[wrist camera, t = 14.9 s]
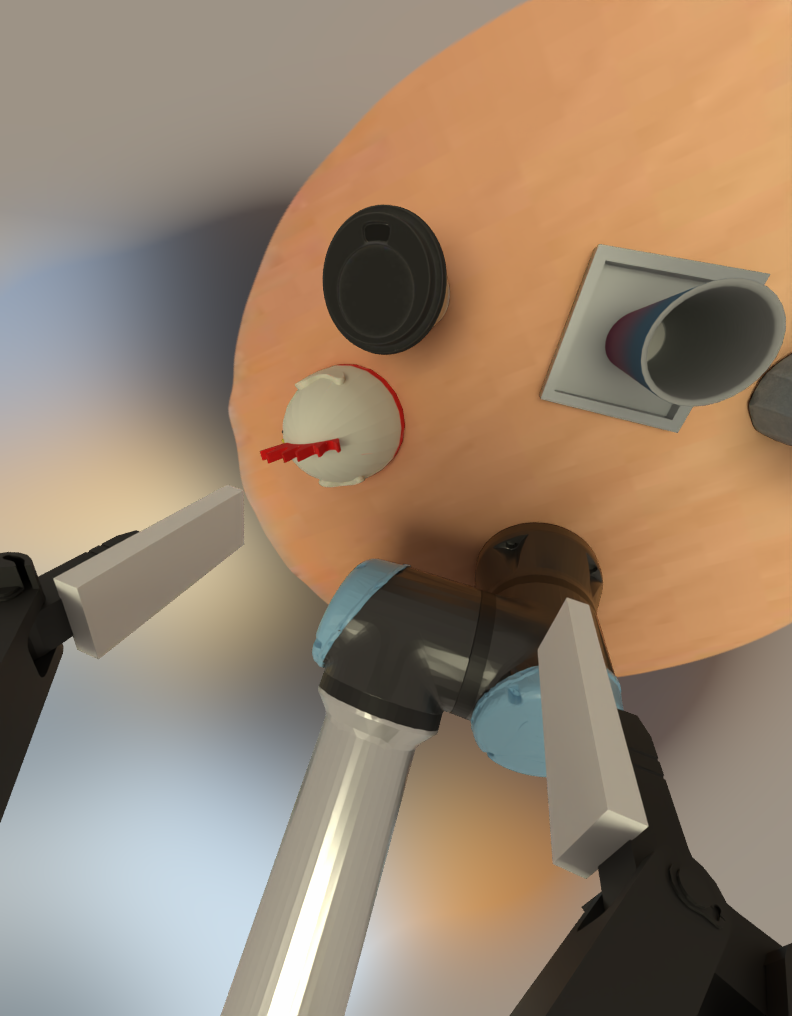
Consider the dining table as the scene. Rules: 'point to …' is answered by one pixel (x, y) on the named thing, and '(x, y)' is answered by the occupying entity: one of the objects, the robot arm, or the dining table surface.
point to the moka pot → (774, 403)
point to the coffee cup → (385, 279)
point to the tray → (597, 307)
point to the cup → (700, 341)
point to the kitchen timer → (341, 426)
